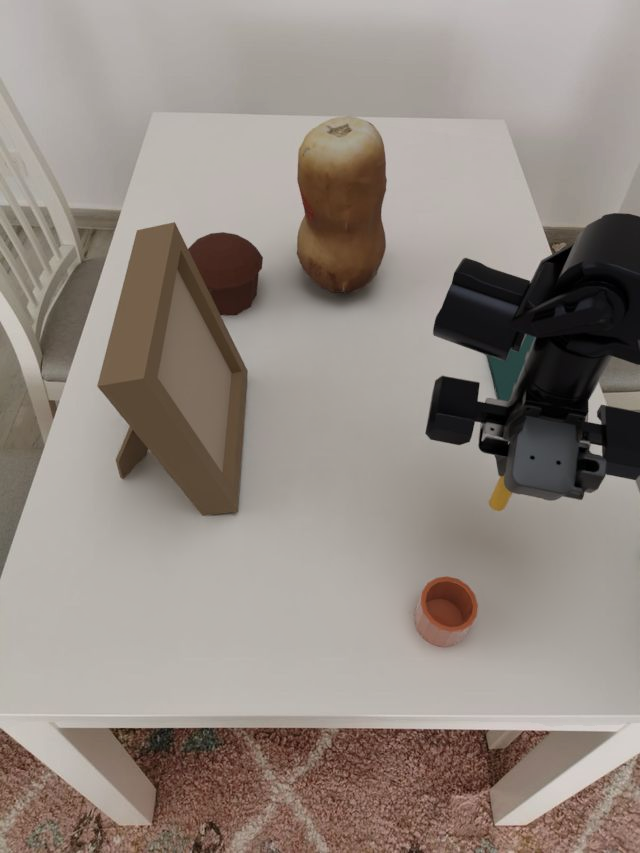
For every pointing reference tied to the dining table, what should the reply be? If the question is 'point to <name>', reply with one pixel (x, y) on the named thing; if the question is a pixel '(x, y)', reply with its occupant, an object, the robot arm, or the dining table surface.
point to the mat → (508, 369)
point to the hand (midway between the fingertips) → (511, 474)
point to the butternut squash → (342, 203)
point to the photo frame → (176, 374)
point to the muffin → (228, 270)
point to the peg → (500, 496)
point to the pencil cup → (445, 611)
